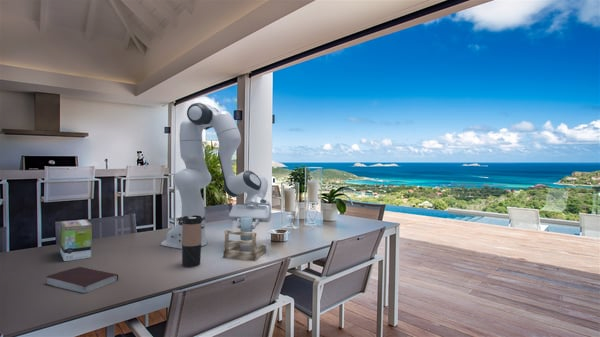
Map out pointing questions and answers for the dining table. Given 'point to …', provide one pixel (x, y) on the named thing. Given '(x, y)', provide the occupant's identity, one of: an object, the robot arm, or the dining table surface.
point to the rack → (234, 249)
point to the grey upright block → (246, 228)
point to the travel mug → (191, 241)
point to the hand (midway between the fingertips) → (246, 228)
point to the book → (81, 279)
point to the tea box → (75, 240)
